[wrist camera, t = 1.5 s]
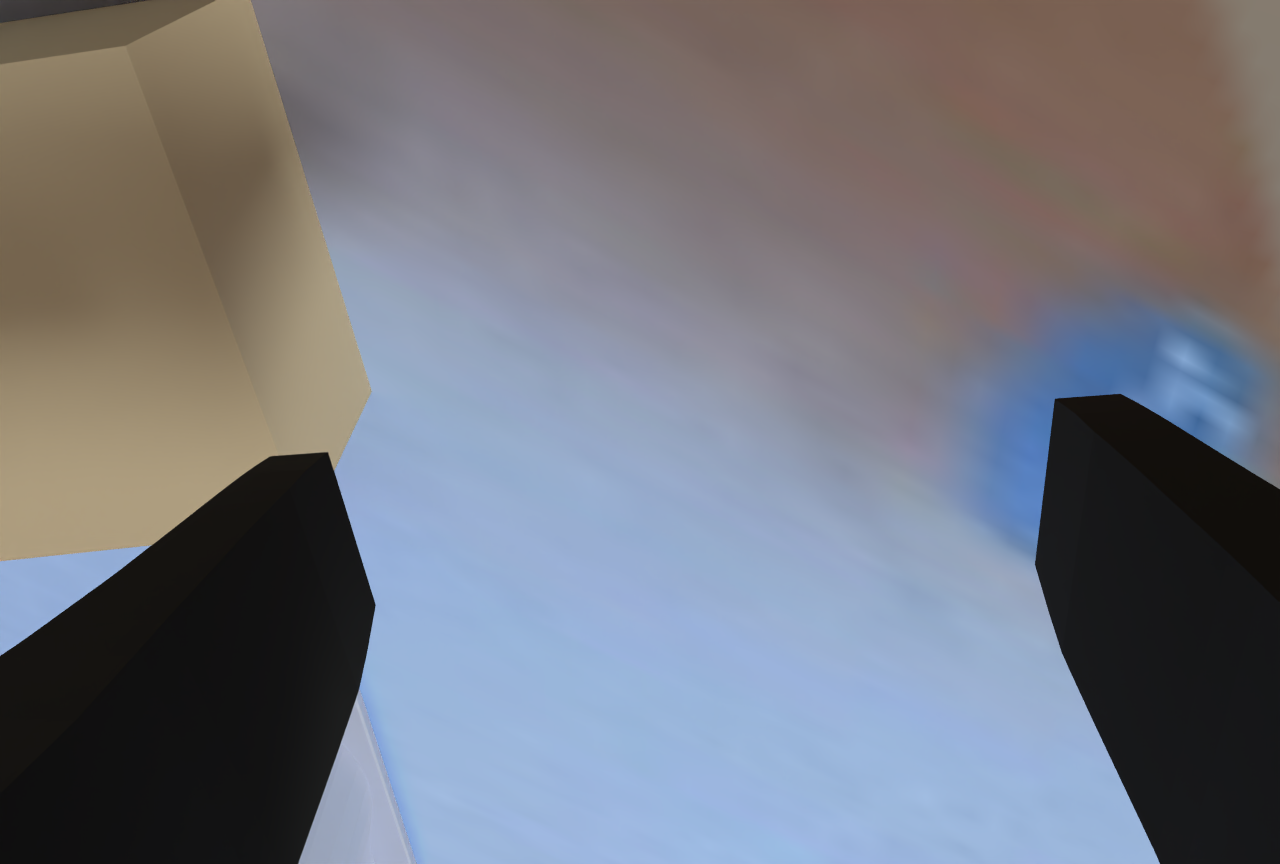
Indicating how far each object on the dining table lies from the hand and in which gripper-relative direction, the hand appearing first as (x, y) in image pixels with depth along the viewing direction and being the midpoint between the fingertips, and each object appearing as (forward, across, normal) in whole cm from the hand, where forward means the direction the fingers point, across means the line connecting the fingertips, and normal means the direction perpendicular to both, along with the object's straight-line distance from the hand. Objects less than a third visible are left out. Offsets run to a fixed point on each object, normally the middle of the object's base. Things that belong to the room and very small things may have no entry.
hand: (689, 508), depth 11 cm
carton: (+11, +11, 0) cm, 15 cm away
